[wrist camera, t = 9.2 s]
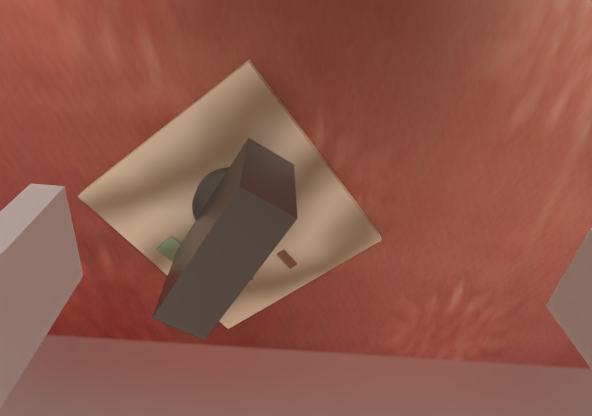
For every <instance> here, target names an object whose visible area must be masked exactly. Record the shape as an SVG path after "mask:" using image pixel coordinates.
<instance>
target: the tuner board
mask: <svg viewBox="0 0 592 416" xmlns="http://www.w3.org/2000/svg"><path fill="white" fill-rule="evenodd" d="M248 138H250V139H252V140H254V141H255V142H257V143H259V144H260V145H262V146H264V147H265V148H267V149H269V150H270V151H272V152H274V153H275V154H277V155H279V156H281V157H282V158H284V159H286V160H287V161H289V162H291V163H292V164H294V173H295V188H296V203H297V217H298V219H297V220H296V221H295V223H294V224H293V225H292V226H291V228H290V229H289V230H288V232H287V233H286V234H285V236H284V237H283V238H282V240H281V241H280V242H279V243H278V245H277V246H276V247H275V249H274V250H273V251H272V253H271V254H270V255H269V257H268V258H267V259H266V260H265V262H264V263H263V264H262V266H261V267H260V268H259V270H258V271H257V272H256V274H255V275H254V276H253V277H252V279H251V280H250V281H249V283H248V284H247V285H246V287H245V288H244V289H243V291H242V292H241V293H240V294H239V296H238V297H237V298H236V300H235V301H234V302H233V304H232V305H231V306H230V308H229V309H228V310H227V311H226V313H225V314H224V315H223V317H222V318H221V319H220V322H221V323H222V324H223V325H224V326H225V327H226V328H228V329H229V328H231V327H233V326H234V325H236V324H238V323H240V322H241V321H243V320H245V319H247V318H248V317H250V316H252V315H254V314H255V313H257V312H259V311H260V310H262V309H264V308H266V307H267V306H269V305H271V304H273V303H274V302H276V301H278V300H279V299H281V298H283V297H285V296H286V295H288V294H290V293H292V292H293V291H295V290H297V289H298V288H300V287H302V286H304V285H305V284H307V283H309V282H311V281H312V280H314V279H316V278H317V277H319V276H321V275H323V274H324V273H326V272H328V271H330V270H331V269H333V268H335V267H336V266H338V265H340V264H342V263H343V262H345V261H347V260H349V259H350V258H352V257H354V256H355V255H357V254H359V253H361V252H362V251H364V250H366V249H368V248H369V247H371V246H373V245H374V244H376V243H378V242H380V241H381V240H382V238H381V236H380V233H379V232H378V230H377V229H376V227H375V226H374V225H373V223H372V222H371V221H370V219H369V218H368V217H367V215H366V214H365V213H364V211H363V210H362V209H361V207H360V206H359V205H358V203H357V202H356V201H355V199H354V198H353V197H352V195H351V194H350V193H349V191H348V190H347V189H346V187H345V186H344V185H343V183H342V182H341V181H340V179H339V178H338V177H337V175H336V174H335V173H334V171H333V170H332V169H331V167H330V166H329V165H328V163H327V162H326V161H325V159H324V158H323V157H322V155H321V154H320V153H319V151H318V150H317V149H316V147H315V146H314V145H313V143H312V142H311V141H310V139H309V138H308V137H307V135H306V134H305V133H304V131H303V130H302V129H301V127H300V126H299V125H298V123H297V122H296V121H295V119H294V118H293V116H292V115H291V114H290V112H289V111H288V110H287V108H286V107H285V106H284V104H283V103H282V102H281V100H280V99H279V98H278V96H277V95H276V94H275V92H274V91H273V90H272V88H271V87H270V86H269V84H268V83H267V82H266V80H265V79H264V78H263V76H262V75H261V74H260V72H259V71H258V70H257V68H256V67H255V66H254V64H253V63H252V62H251V60H250V59H248V60H247V61H246V62H245V63H243V64H242V65H241V66H240V67H238V68H237V69H236V70H235V71H233V72H232V73H231V74H229V75H228V76H227V77H226V78H224V79H223V80H222V81H221V82H219V83H218V84H217V85H216V86H214V87H213V88H212V89H210V90H209V91H208V92H207V93H205V94H204V95H203V96H202V97H200V98H199V99H198V100H197V101H195V102H194V103H193V104H191V105H190V106H189V107H188V108H186V109H185V110H184V111H183V112H181V113H180V114H179V115H178V116H176V117H175V118H174V119H172V120H171V121H170V122H169V123H167V124H166V125H165V126H164V127H162V128H161V129H160V130H159V131H157V132H156V133H155V134H153V135H152V136H151V137H150V138H148V139H147V140H146V141H145V142H143V143H142V144H141V145H140V146H138V147H137V148H136V149H134V150H133V151H132V152H131V153H129V154H128V155H127V156H126V157H124V158H123V159H122V160H121V161H119V162H118V163H117V164H115V165H114V166H113V167H112V168H110V169H109V170H108V171H107V172H105V173H104V174H103V175H102V176H100V177H99V178H98V179H96V180H95V181H94V182H93V183H91V184H90V185H89V186H88V187H86V188H85V189H84V190H83V191H82V192H81V193H80V194H79V195H78V197H79V198H80V199H81V200H82V201H83V202H85V203H86V204H87V205H88V206H89V207H90V208H91V209H92V210H94V211H95V212H96V213H97V214H98V215H99V216H100V217H102V218H103V219H104V220H105V221H106V222H107V223H108V224H109V225H111V226H112V227H113V228H114V229H115V230H116V231H117V232H119V233H120V234H121V235H122V236H123V237H124V238H125V239H127V240H128V241H129V242H130V243H131V244H132V245H133V246H134V247H136V248H137V249H138V250H139V251H140V252H141V253H142V254H144V255H145V256H146V257H147V258H148V259H149V260H150V261H151V262H153V263H154V264H155V265H156V266H157V267H158V268H159V269H161V270H162V271H163V272H164V273H165V274H166V275H167V276H168V274H169V271H170V268H171V265H172V263H173V260H174V257H175V255H176V252H177V250H178V248H179V247H180V245H181V243H182V242H183V240H184V239H185V237H186V235H187V234H188V232H189V231H190V229H191V228H192V226H193V224H194V223H195V221H196V220H195V218H194V215H193V210H192V203H193V198H194V195H195V192H196V190H197V187H198V185H199V183H200V182H201V181H202V179H203V178H204V177H205V176H207V175H208V174H210V173H211V172H213V171H215V170H218V169H221V168H227V167H230V166H231V164H232V163H233V161H234V160H235V158H236V156H237V155H238V153H239V152H240V150H241V149H242V147H243V145H244V144H245V142H246V141H247V139H248Z"/></svg>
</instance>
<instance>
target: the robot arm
mask: <svg viewBox="0 0 592 416" xmlns="http://www.w3.org/2000/svg"><path fill="white" fill-rule="evenodd" d="M82 277H83V271H82V267H81V262H80V257H79V252H78V248H77V243H76V238H75V233H74V229H73V224H72V219H71V214H70V210H69V205H68V200H67V195H66V191H65V186H55V185H42V184H30V185H29V186H28V187H27V188H25V189H24V190H23V191H22V192H21V193H20V194H19V195H18V196H17V197H16V198H15V199H14V200H12V201H11V202H10V203H9V204H8V205H7V206H6V207H5V208H4V209H3V210H2V211H0V408H1V407H2V405H3V403H4V402H5V401H6V399H7V397H8V396H9V394H10V393H11V391H12V389H13V388H14V386H15V384H16V383H17V381H18V380H19V378H20V376H21V375H22V373H23V372H24V370H25V368H26V366H27V365H28V363H29V362H30V360H31V359H32V357H33V355H34V354H35V352H36V351H37V349H38V347H39V346H40V344H41V342H42V341H43V339H44V338H45V336H46V335H47V333H48V331H49V330H50V328H51V327H52V325H53V323H54V322H55V320H56V319H57V317H58V315H59V314H60V312H61V311H62V309H63V307H64V306H65V304H66V302H67V301H68V299H69V298H70V296H71V294H72V293H73V291H74V290H75V288H76V286H77V285H78V283H79V282H80V280H81V278H82ZM546 307H547V308H548V310H549V311H550V312H551V314H552V315H553V317H554V318H555V319H556V321H557V322H558V324H559V325H560V326H561V328H562V329H563V330H564V332H565V333H566V335H567V336H568V337H569V339H570V340H571V341H572V343H573V344H574V346H575V347H576V348H577V350H578V351H579V353H580V354H581V355H582V357H583V358H584V359H585V361H586V362H587V364H588V365H589V366H590V368H591V369H592V229H590V230H589V231H588V233H587V235H586V237H585V238H584V240H583V242H582V244H581V245H580V247H579V249H578V250H577V252H576V254H575V256H574V257H573V259H572V261H571V263H570V264H569V266H568V268H567V270H566V271H565V273H564V275H563V277H562V278H561V280H560V282H559V284H558V285H557V287H556V289H555V291H554V292H553V294H552V296H551V297H550V299H549V301H548V303H547V304H546Z"/></svg>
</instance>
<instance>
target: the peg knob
mask: <svg viewBox="0 0 592 416" xmlns="http://www.w3.org/2000/svg"><path fill="white" fill-rule="evenodd" d="M192 210H193V215H194V218H195V220H196V221H195V223H194V224H193V226H192V228H191V229H190V231H189V232H188V234H187V235H186V237H185V239H184V240H183V242H182V243H181V245H180V247H179V248H178V250H177V252H176V255H175V257H174V260H173V263H172V265H171V268H170V271H169V274H168V276H167V279H166V282H165V284H164V287H163V290H162V293H161V295H160V298H159V301H158V303H157V306H156V309H155V312H154V314H153V317H152V319H154V320H157V321H159V322H162V323H164V324H166V325H169V326H171V327H174V328H176V329H178V330H181V331H183V332H186V333H188V334H191V335H193V336H195V337H198V338H200V339H203V340H205V339H206V338H207V336H208V335H209V334H210V332H211V331H212V330H213V328H214V327H215V326H216V325H217V323H218V322H219V321H220V319H221V318H222V317H223V315H224V314H225V313H226V311H227V310H228V309H229V308H230V306H231V305H232V304H233V302H234V301H235V300H236V298H237V297H238V296H239V294H240V293H241V292H242V291H243V289H244V288H245V287H246V285H247V284H248V283H249V281H250V280H251V279H252V277H253V276H254V275H255V274H256V272H257V271H258V270H259V268H260V267H261V266H262V264H263V263H264V262H265V260H266V259H267V258H268V257H269V255H270V254H271V253H272V251H273V250H274V249H275V247H276V246H277V245H278V243H279V242H280V241H281V240H282V238H283V237H284V236H285V234H286V233H287V232H288V230H289V229H290V228H291V226H292V225H293V224H294V223H295V221H296V220H297V219H298V217H297V203H296V188H295V173H294V164H292V163H291V162H289V161H287V160H286V159H284V158H282V157H281V156H279V155H277V154H275V153H274V152H272V151H270V150H269V149H267V148H265V147H264V146H262V145H260V144H259V143H257V142H255V141H254V140H252V139H250V138H248V139H247V141H246V142H245V144H244V145H243V147H242V149H241V150H240V152H239V153H238V155H237V156H236V158H235V160H234V161H233V163H232V164H231V166H230V167H227V168H221V169H218V170H215V171H213V172H211V173H210V174H208V175H207V176H205V177H204V178H203V179H202V181H201V182H200V183H199V185H198V187H197V190H196V192H195V195H194V198H193V203H192Z"/></svg>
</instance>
